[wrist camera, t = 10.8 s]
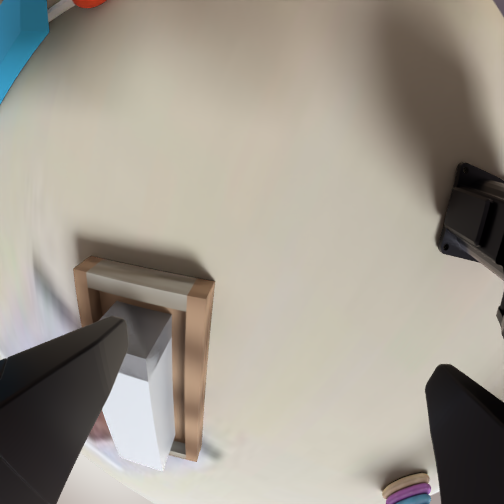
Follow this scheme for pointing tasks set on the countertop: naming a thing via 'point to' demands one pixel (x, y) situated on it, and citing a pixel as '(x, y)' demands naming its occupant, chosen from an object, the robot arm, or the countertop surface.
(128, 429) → the white tall block
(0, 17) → the lever
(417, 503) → the stacking toy
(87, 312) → the wooden tray
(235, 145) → the countertop surface
